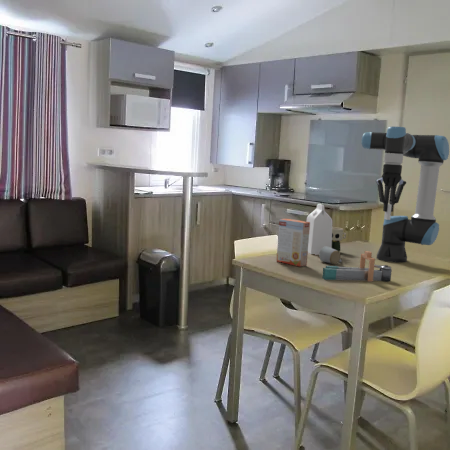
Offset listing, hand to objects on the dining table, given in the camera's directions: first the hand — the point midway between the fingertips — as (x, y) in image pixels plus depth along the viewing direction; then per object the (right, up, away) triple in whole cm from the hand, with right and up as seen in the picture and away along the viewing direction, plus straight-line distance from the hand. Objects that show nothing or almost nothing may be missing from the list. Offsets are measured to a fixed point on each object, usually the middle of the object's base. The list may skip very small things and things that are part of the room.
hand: (387, 219), depth 221 cm
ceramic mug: (-17, -21, +33) cm, 43 cm away
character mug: (-9, -17, +62) cm, 65 cm away
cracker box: (-38, -21, +25) cm, 50 cm away
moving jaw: (-12, -26, +3) cm, 28 cm away
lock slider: (-8, -26, +3) cm, 27 cm away
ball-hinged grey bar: (-13, -26, +1) cm, 29 cm away
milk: (-20, -17, +58) cm, 63 cm away
